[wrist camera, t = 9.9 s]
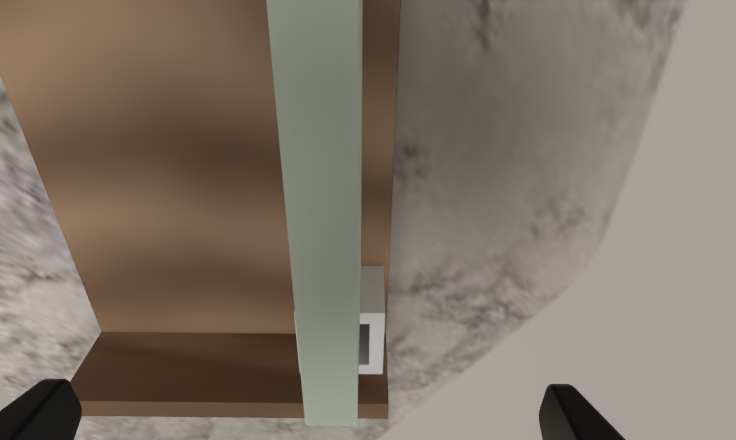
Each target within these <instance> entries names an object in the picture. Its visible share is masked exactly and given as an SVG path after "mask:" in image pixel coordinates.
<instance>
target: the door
mask: <svg viewBox="0 0 736 440" xmlns="http://www.w3.org/2000/svg"><path fill="white" fill-rule="evenodd" d="M266 3H267V14H268V25H269V36H270V47H271V57H272V68H273V79H274V90H275V101H276V112H277V123H278V134H279V144H280V155H281V166H282V177H283V188H284V199H285V210H286V220H287V231H288V242H289V253H290V264H291V275H292V286H293V297H294V307H295V310H294V317H295V328H296V339H297V350H298V360H299V371H300V373H301V384H302V394H303V405H304V416H305V426H350V427H357V418H358V374H383V353H384V330H385V295H384V270H383V266H361V187H362V37H363V0H266Z"/></svg>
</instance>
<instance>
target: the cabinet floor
mask: <svg viewBox="0 0 736 440" xmlns="http://www.w3.org/2000/svg"><path fill="white" fill-rule="evenodd" d="M400 5H401V0H363V37H362V187H361V266H383V270H384V295H385V330H384V353H383V374H358V418H371V419H388V380H387V354H386V318H387V296H388V273H389V251H390V228H391V206H392V184H393V161H394V139H395V117H396V94H397V72H398V50H399V27H400ZM0 75H1V77H2V80H3V83H4V85H5V88H6V90H7V93H8V95H9V98H10V100H11V103H12V105H13V108H14V110H15V113H16V115H17V118H18V121H19V123H20V126H21V128H22V131H23V133H24V136H25V138H26V141H27V143H28V146H29V148H30V151H31V154H32V156H33V159H34V161H35V164H36V166H37V169H38V171H39V174H40V176H41V179H42V181H43V184H44V186H45V189H46V192H47V194H48V197H49V199H50V202H51V204H52V207H53V209H54V212H55V214H56V217H57V219H58V222H59V224H60V227H61V230H62V232H63V235H64V237H65V240H66V242H67V245H68V247H69V250H70V252H71V255H72V257H73V260H74V263H75V265H76V268H77V270H78V273H79V275H80V278H81V280H82V283H83V285H84V288H85V290H86V293H87V295H88V298H89V301H90V303H91V306H92V308H93V311H94V313H95V316H96V318H97V321H98V323H99V326H100V328H101V331H102V332H101V334H100V335H99V337H98V338H97V340H96V342H95V343H94V345H93V346H92V348H91V350H90V351H89V353H88V354H87V356H86V358H85V359H84V361H83V362H82V364H81V365H80V367H79V369H78V370H77V372H76V373H75V375H74V377H73V378H72V380H71V381H70V383H71V385H72V387H73V389H74V391H75V393H76V395H77V397H78V399H79V402H80V404H81V407H82V416H158V417H264V418H305V416H304V405H303V394H302V384H301V373H300V371H299V360H298V350H297V339H296V328H295V317H294V310H295V307H294V297H293V286H292V275H291V264H290V253H289V242H288V231H287V220H286V210H285V199H284V188H283V177H282V166H281V155H280V144H279V134H278V123H277V112H276V101H275V90H274V79H273V68H272V57H271V47H270V36H269V25H268V14H267V3H266V0H0Z"/></svg>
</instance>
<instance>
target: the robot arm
mask: <svg viewBox="0 0 736 440" xmlns="http://www.w3.org/2000/svg"><path fill="white" fill-rule="evenodd" d="M81 416H82V407H81V404H80V402H79V399H78V397H77V395H76V393H75V391H74V389H73V387H72V385H71V383H70V382H69V381H68V380H66V379H45V380H42V381H40V382H39V383H37V384H36V385H34V386H33V387H32V388H30V389H29V390H28V391H26V392H25V393H24V394H22V395H21V396H20V397H18V398H17V399H16V400H14V401H13V402H12V403H10V404H9V405H8V406H6V407H5V408H4V409H2V410H1V411H0V440H74V437H75V434H76V431H77V429H78V426H79V423H80V420H81ZM539 422H540V428H541V433H542V438H543V440H625V439H624V438H623V437H622V436H621V435H620V434H619V433H618V432H617V430H615V428H614V427H613V426H612V425H611V424H610V423H609V422H608V421H607V420H606V419H605V418H604V417H603V416H602V415H601V414H600V413H599V412H598V411H597V410H596V409H595V408H594V407H593V406H592V405H591V404H590V403H589V402H588V401H587V400H586V399H585V398H584V397H583V396H582V395H581V394H580V393H579V392H578V391H577V389H576V388H574V387H573V386H572V385H569V384H550V385H549V386H548V387H547V389H546V392H545V395H544V398H543V401H542V404H541V407H540V411H539Z"/></svg>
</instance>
